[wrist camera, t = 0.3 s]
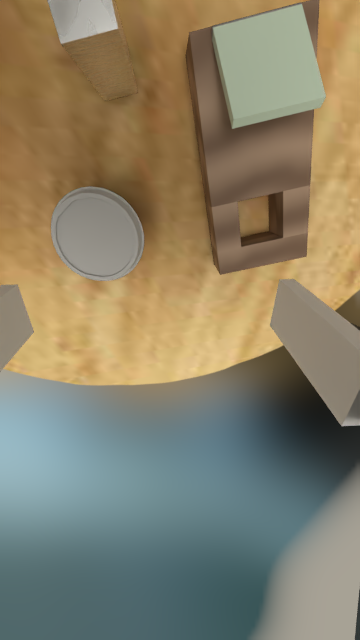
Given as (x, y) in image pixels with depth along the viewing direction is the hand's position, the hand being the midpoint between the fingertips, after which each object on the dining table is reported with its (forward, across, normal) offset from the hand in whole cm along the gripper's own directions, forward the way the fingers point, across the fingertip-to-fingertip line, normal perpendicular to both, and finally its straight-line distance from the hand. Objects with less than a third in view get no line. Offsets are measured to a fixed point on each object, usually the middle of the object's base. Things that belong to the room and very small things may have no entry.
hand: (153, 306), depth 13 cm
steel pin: (+27, -4, +16) cm, 31 cm away
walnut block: (+26, +12, +7) cm, 30 cm away
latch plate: (+19, +10, +14) cm, 26 cm away
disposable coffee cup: (+27, -6, 0) cm, 27 cm away
